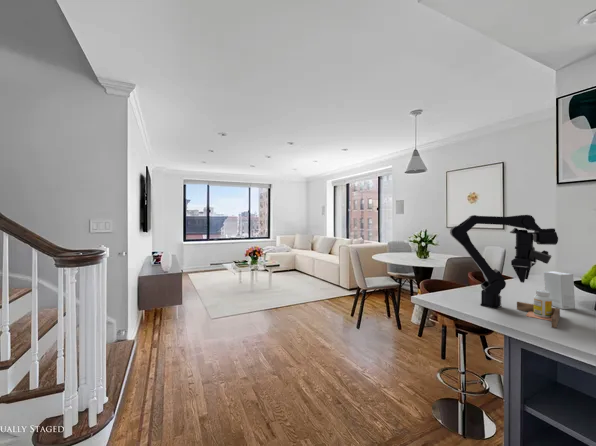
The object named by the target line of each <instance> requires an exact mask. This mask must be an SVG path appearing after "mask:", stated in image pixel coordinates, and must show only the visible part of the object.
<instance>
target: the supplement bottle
mask: <svg viewBox="0 0 596 446" xmlns="http://www.w3.org/2000/svg"><path fill="white" fill-rule="evenodd" d="M535 294H536V295H534V296H533V304H534V315H536V316H539V317H544V318H550V317H551V316H552V307H553V306H552V299H551V298H550V297H549V295H550V292H548V291H545V290H543V289H542V290H541V289H539V290H538V289H537V290H535Z"/></svg>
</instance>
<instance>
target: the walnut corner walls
mask: <svg viewBox="0 0 596 446" xmlns="http://www.w3.org/2000/svg"><path fill="white" fill-rule="evenodd" d="M516 310H519V311H524V312H529V311H532V312H534V303H528V302H522V301H516ZM552 315H553V316H552V321H551V328H552V329H553V328H554V329H557V326H558V324H559V320H560V318H561V308H558V307H554V306H552Z"/></svg>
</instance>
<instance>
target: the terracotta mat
mask: <svg viewBox="0 0 596 446" xmlns="http://www.w3.org/2000/svg"><path fill="white" fill-rule="evenodd" d="M525 316H526V317H529V318H533V319H540V320H542V321H543V320H544V321H549V322H552V316H553V315H552V316H551V317H550V318H544V317H539V316H536V315H534V312H532V311H527V313H526V315H525Z"/></svg>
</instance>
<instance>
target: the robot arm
mask: <svg viewBox="0 0 596 446" xmlns="http://www.w3.org/2000/svg"><path fill="white" fill-rule="evenodd" d="M476 225H500V226H508V227H513V229H512V230H511V231H509V233H510V234H513V235H514V234H515V246H514V250H515V255H514V258H513V259H512V260H510V261H511V262H510V264H511V266H512V268H513V270H514V272H515V274H516V276H517V277H518V279H519V281H520V283H523V284H524V283H525V281H526V280H528V279H529V277H530V276H529V275H530V272H531V270H532V269H531V268H532V267H534V266H535V265H536V264H537V262H542V263H543V264H547V265H548V264H549V263H550V261H551V259H552V257H553V256H552V254H550V253H549V251H547V250H542V251H538V250H536V248H535V247H534V243H536V244H537V245H540V246H541V245H545V246H551V245H553V246H556V245H557V244H558V242H559V236H558V234H557V232H556V228H553V227H551V228H541V227H540V226H539V225H538V224H537V223H536V219H535V218H534V216H533V215H531V214H520V215H512V216H511V215H510V216H497V215H496V216H493V215H492V216H490V215H475V214H473V215H470V216H468V218H466V219H465V220H463V221H462V222H461V223H460V224H458V225H455V226H454V225H453V226H451V228H450V230H449V235H450V236H451V237H452V238H454V240H456V242H458V243H459V244H460V245H461V246H462V247H463V249H465V251H466V252H467V254H468V255H469V256H470V257H471V259H472V261H473V262H474V263H475V264H476V266H477V267H478V268H479V269H480V271H481V273H482V275H483V278H484V280H485V281H483V282H482V283H481V284H480V287H481V288H482V290H481V293H480V294H481V295H480V296H481V300H480V304H479V305H480V306H483V307H488V308H494V309H499V308H500V307H501V306H502V296H501V295H500V294H501V292H502V290H504V289H505V288H506V286H507V282H506V278H505V277H504V276H503V275H502V273H501V272H500V270H498V269H496V268H494V269H493V268H492V267H491V266H490V265H489V263H488V262H487V261H486V260H485V258H484V257H483V256H482V254H481V252H480V251H479V250H478V249H477V248H476V246H475V245H474V244H473V242H472V241H471V238H470V236H469V234H468V232H469V231H470V230H471V229H472V228H473V227H474V226H476ZM518 228H520V229H518ZM532 231H534V232H532Z"/></svg>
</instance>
